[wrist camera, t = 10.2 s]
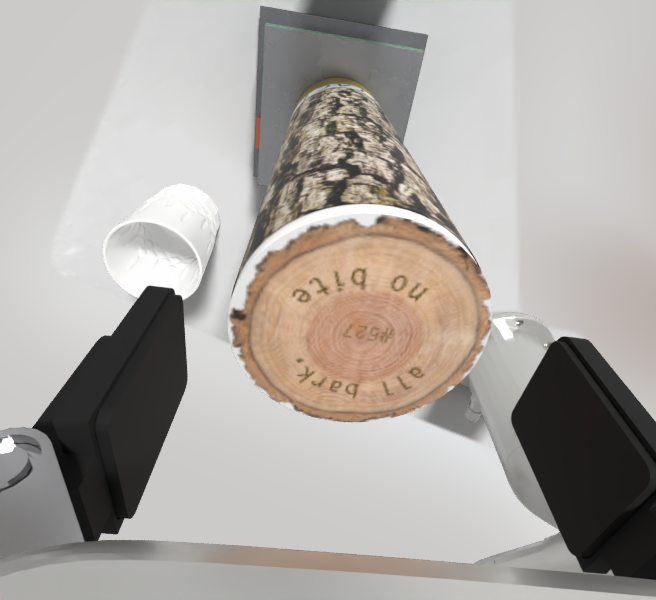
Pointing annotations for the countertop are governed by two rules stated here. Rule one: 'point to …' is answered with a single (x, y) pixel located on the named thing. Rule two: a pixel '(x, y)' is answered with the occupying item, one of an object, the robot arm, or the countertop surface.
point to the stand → (328, 71)
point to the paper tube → (354, 272)
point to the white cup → (164, 242)
